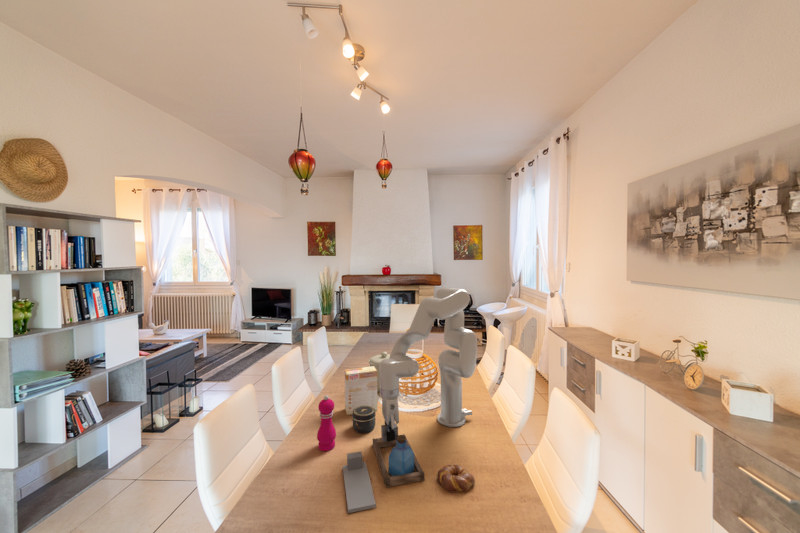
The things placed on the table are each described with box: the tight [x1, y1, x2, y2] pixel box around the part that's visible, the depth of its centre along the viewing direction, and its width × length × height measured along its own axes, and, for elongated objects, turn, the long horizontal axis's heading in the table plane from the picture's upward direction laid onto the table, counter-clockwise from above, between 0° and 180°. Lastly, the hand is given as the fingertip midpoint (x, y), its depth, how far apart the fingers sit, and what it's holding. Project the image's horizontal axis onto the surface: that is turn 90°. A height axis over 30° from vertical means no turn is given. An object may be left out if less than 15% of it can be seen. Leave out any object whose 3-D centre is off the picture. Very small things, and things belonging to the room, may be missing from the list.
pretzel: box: [437, 464, 476, 493], centre depth 103 cm, size 12×11×4 cm
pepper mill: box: [316, 394, 337, 452], centre depth 122 cm, size 7×7×20 cm
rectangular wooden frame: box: [372, 422, 426, 488], centre depth 113 cm, size 13×24×7 cm, turn 15°
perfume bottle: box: [388, 434, 415, 477], centre depth 107 cm, size 6×6×12 cm
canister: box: [368, 351, 391, 393], centre depth 177 cm, size 18×18×21 cm
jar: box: [351, 406, 376, 434], centre depth 136 cm, size 10×10×8 cm
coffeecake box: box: [344, 366, 378, 416], centre depth 153 cm, size 15×7×20 cm, turn 108°
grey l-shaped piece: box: [342, 451, 377, 514], centre depth 101 cm, size 8×20×5 cm, turn 15°
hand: (389, 437), depth 124 cm, fingers closed on rectangular wooden frame, 3 cm apart
